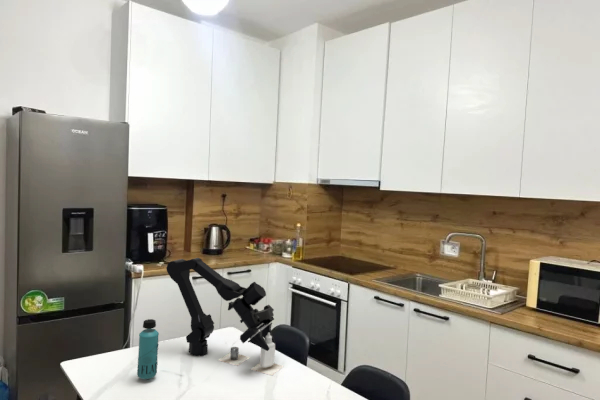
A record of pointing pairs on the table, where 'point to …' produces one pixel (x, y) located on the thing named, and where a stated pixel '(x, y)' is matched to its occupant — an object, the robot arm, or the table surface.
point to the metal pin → (234, 353)
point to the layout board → (258, 368)
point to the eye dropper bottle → (268, 353)
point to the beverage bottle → (148, 350)
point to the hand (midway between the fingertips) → (271, 347)
